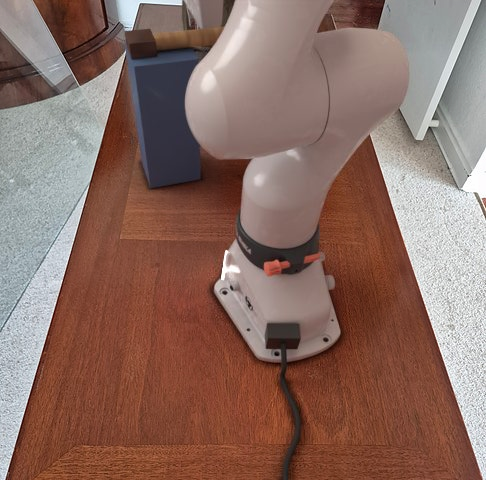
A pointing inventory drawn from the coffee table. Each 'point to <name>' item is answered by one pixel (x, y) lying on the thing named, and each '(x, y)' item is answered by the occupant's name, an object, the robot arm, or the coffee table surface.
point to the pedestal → (164, 116)
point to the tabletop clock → (227, 8)
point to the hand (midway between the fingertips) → (197, 34)
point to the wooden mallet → (168, 40)
